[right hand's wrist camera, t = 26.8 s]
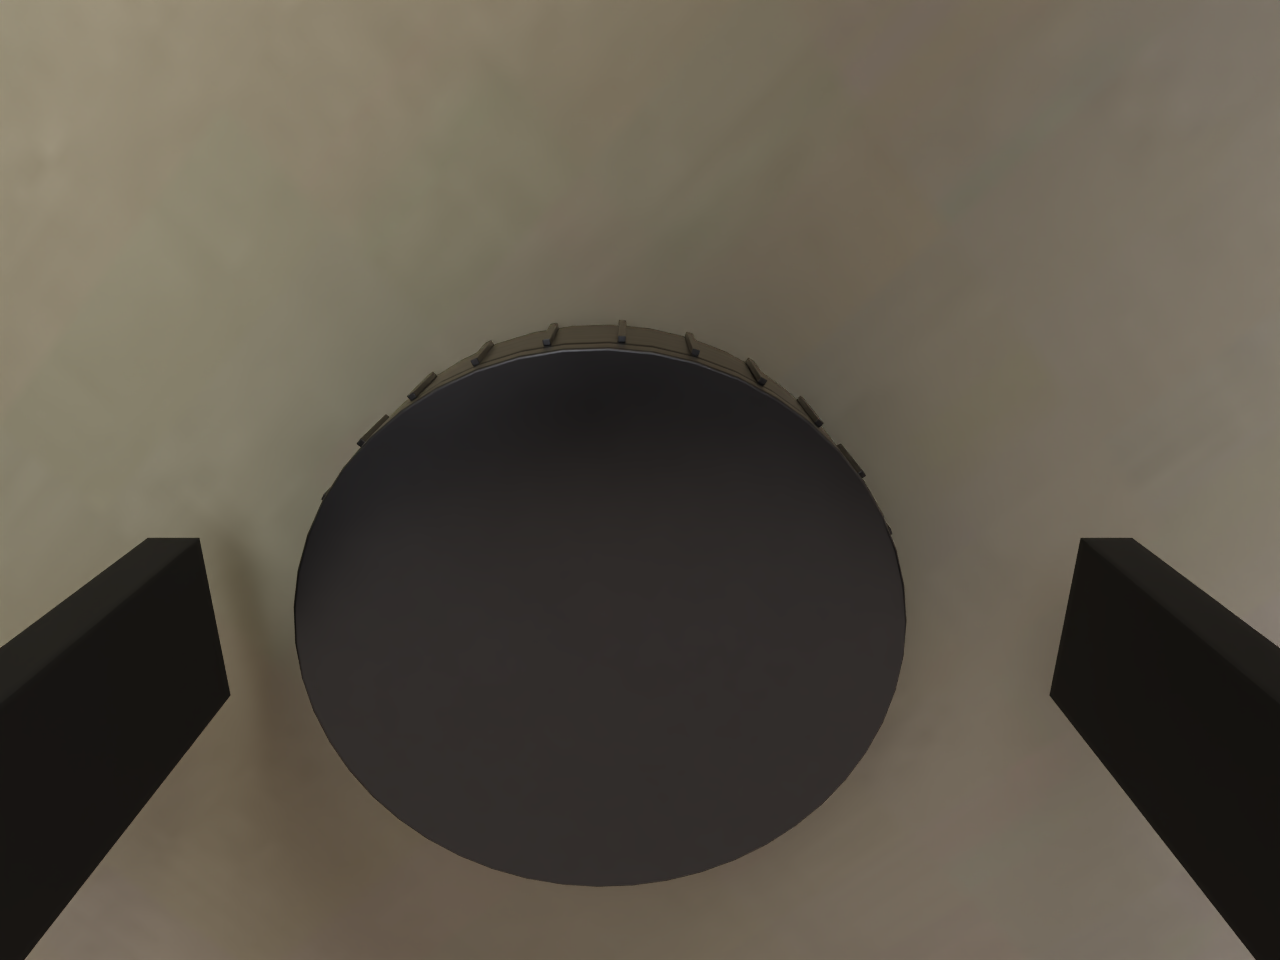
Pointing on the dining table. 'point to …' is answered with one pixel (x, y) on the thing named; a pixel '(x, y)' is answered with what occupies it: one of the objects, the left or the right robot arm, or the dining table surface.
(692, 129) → the dining table surface
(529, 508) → the lid
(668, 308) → the dining table surface
